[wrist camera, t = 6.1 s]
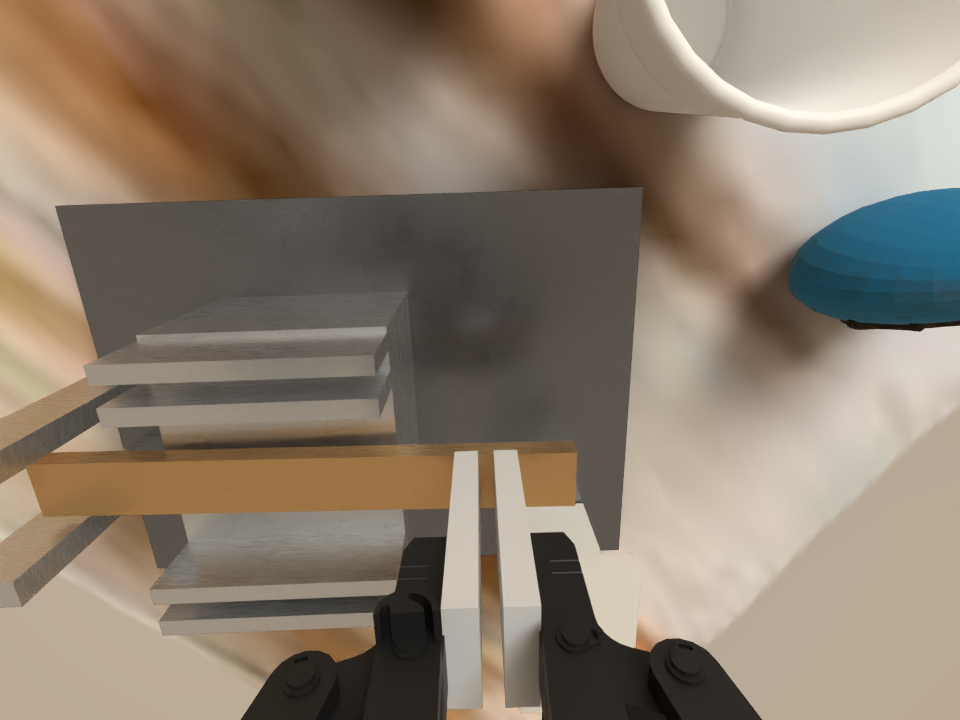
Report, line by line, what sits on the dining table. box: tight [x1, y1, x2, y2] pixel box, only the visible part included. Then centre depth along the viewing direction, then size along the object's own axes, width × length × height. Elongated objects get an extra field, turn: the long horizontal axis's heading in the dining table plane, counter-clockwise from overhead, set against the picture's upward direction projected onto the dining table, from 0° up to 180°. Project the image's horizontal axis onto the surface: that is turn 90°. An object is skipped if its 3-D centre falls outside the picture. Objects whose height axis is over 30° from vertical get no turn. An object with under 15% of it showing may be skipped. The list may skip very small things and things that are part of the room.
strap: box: [26, 441, 577, 517], centre depth 17 cm, size 18×2×1 cm, turn 92°
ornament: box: [788, 188, 960, 332], centre depth 19 cm, size 8×5×10 cm, turn 111°
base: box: [0, 187, 643, 635], centre depth 20 cm, size 24×18×11 cm
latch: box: [520, 503, 641, 714], centre depth 21 cm, size 4×6×9 cm, turn 2°
